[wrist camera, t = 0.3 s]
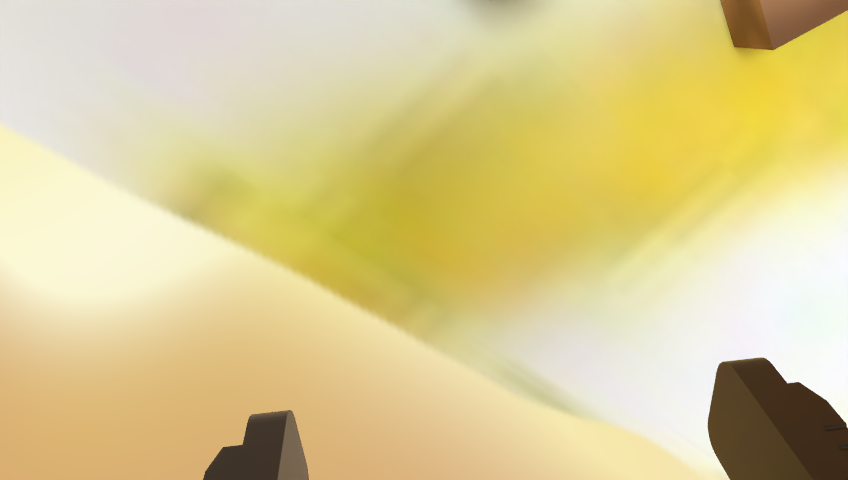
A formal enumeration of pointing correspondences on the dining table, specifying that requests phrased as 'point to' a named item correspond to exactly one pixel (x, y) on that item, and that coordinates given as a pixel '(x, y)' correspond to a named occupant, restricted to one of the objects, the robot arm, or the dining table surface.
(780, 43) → the walnut block
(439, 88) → the dining table surface
